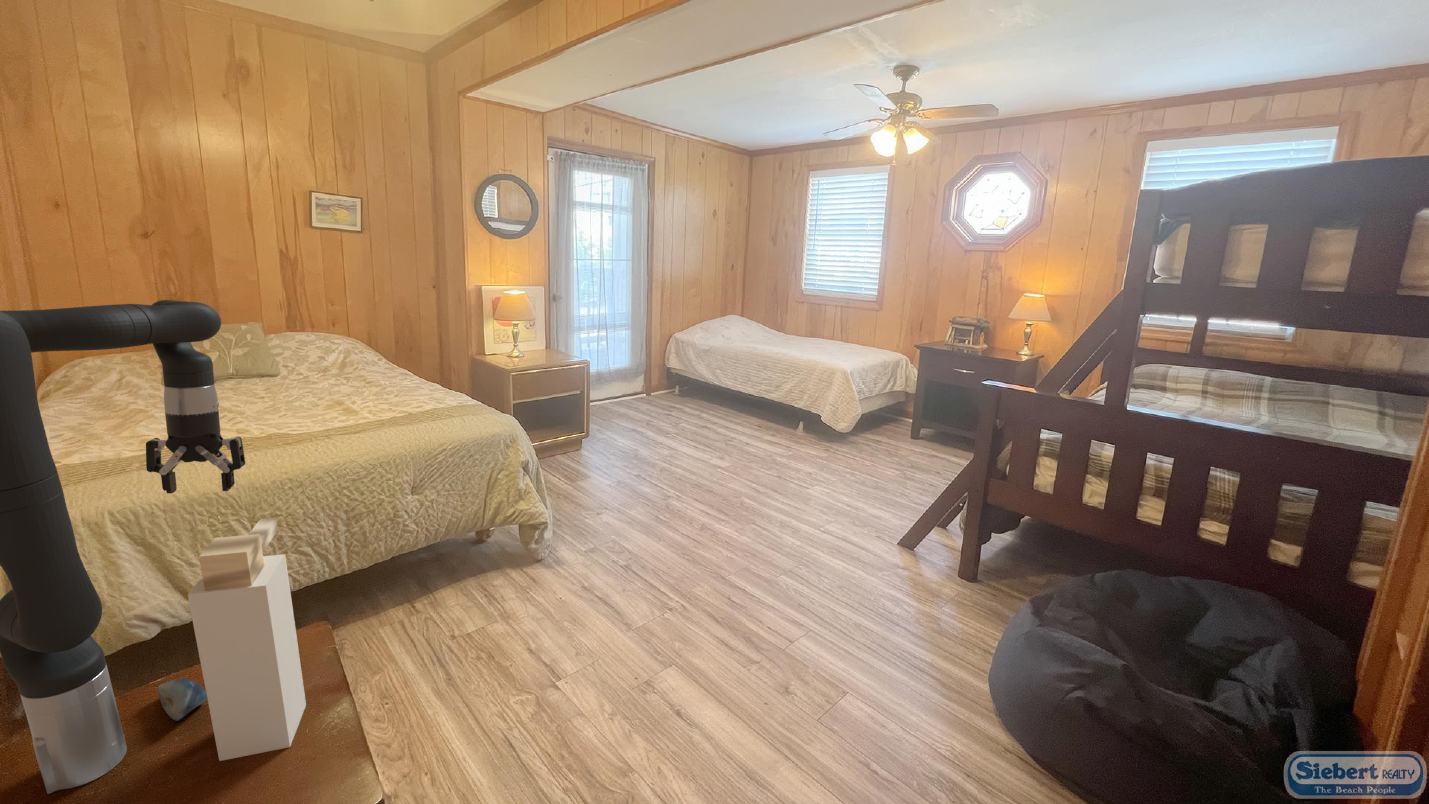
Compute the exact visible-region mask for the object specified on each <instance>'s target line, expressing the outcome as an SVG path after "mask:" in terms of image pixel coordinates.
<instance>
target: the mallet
mask: <svg viewBox="0 0 1429 804" xmlns="http://www.w3.org/2000/svg"><path fill="white" fill-rule="evenodd" d="M277 518H278V517H273V518H272V517H269V518H268V517H267V518H259V520H258V521H257V523H256V524H255V525H254V527H253V528H252V529H251V530H250V532H249V533H248V534H245V535H244V534H243V535H231V536H221V537H220V536H219V537H214V539H213V540H212V541H211V542H210V543H209V544H208V546H206V548H205V549H204V550H203V552H201V554H199V556H198V559H199V564H200V571H201V577H202V576H203V582H204V587H205V591H209V590H217V589H226V588H235V587H244V586H252V584H253V583H254V581H255V580H256V578H257V577H258V575H259V574H260V572H261V571H262V569H263V568H264V566H265V565H264V558H263V556H264V551H265V550H266V548H267V546H268V545H269V544H270V542H271V541H272V540H273V538H274V537H275V535H276V534H277V532H278V530H279V528H278V520H277Z"/></svg>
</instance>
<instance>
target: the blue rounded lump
mask: <svg viewBox="0 0 1429 804" xmlns="http://www.w3.org/2000/svg"><path fill="white" fill-rule="evenodd" d="M157 691H158V692H157V693H158V698H159V700H160V703H161V705H162V708H163V710H164V711H165V713H166V714H167V715H168V717H170V718H171V720H172V721H181V719H183V718H184V717H185V716H187V715H188V714H189V713H190V712H192V711H193V710H194V709H196V708H198V707H199V706H201V705H203V704H204V703H205V702H206V701H207V700H208V699H207V694H206V689H205V688H203V686H202V685H201V684H199V683H198V682H196V681H194V680H190V679H188V678H178V679H173V680H170V681H166V682H165V681H164V682H163V683H160V684H159V685H158V687H157Z"/></svg>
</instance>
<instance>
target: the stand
mask: <svg viewBox="0 0 1429 804" xmlns="http://www.w3.org/2000/svg"><path fill="white" fill-rule="evenodd" d="M263 558H264V565H265V566H264V568H263V569H262V571H261V572H260V574H259V575H258V577H257V578H256V580H255V581H254V583H253V584H252V586H244V587H235V588H226V589H217V590H209V591H205V587H204V582H203V576H202V575H201V578H200V579H199V580H198V581H197V582H196V584H195V585H194V586H193V587H192V588H191V590H190V591H189V592H188V594H187V599H188V603H189V609H190V614H191V619H192V624H193V629H194V635H195V640H196V645H197V651H198V657H199V661H200V667H201V672H202V677H203V682H204V689H205V691H206V694H207V699H206V700H207V704H208V708H209V713H210V714H209V715H210V719H211V724H212V730H213V734H214V740H215V745H216V750H217V755H218V761H219V762H221V761H226V760H233V759H236V758H237V759H238V758H242V757H247V756H252V755H257V754H262V753H266V752H272V751H278V750H283V749H287V748H291V746H292V742H293V741H294V738H295V735H296V733H297V730H298V728H299V725H300V723H301V720H302V717H303V715H304V711H305V709H306V707H307V701H306V695H305V687H304V680H303V679H304V678H303V672H302V666H301V665H302V664H301V659H300V652H299V651H300V650H299V644H298V643H299V642H298V636H297V629H296V621H295V615H294V607H293V602H292V601H293V600H292V592H291V585H290V578H289V572H288V564H287V556H286V554H285V553H284V554H273V555H272V554H271V555H263Z"/></svg>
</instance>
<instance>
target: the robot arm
mask: <svg viewBox="0 0 1429 804" xmlns="http://www.w3.org/2000/svg"><path fill="white" fill-rule="evenodd" d="M221 327H222V319H221V316H220V315H219V313H218V311H217V310H215V308H213V307H212V306H210V305H209V304H206V303H202V302H199V301H197V302H196V301H184V300H175V299H173V300H172V299H161V300H157V301H155V302H153V303H152V304H151V305H150V304H140V303H122V304H120V303H119V304H103V305H88V306H87V305H86V306H78V307H77V306H75V307H62V308H50V309H49V308H48V309H32V310H31V309H28V310H27V309H25V310H21V309H20V310H0V567H1V568H2V570H3V571H4V573H5V575H6V576H7V578H8V580H9V583H10V587H11V589H10V590H9V591H8V592H7V593H5V595H4V596H2V597H1V598H0V656H1V659H2V661H3V664H4V667H5V669H6V671H7V673H8V675H9V676H10V678H11V679H12V680H13V681H14V683H15V684H16V686H17V688H18V693H19V695H20V698H21V702H22V705H23V708H24V709H23V710H24V713H25V716H26V719H27V723H28V727H29V730H30V733H31V738H32V745H33V746H32V747H33V750H34V753H35V754H34V755H35V758H36V761H37V764H38V767H39V771H40V774H41V777H42V781H43V784H44V788H45V790H46V794H48V795H49V794H52V793H54V792H57V791H60V790H67V789H69V790H70V789H73V788H76V787H80V786H82V785H86V784H88V783H90V782H92V781H95V780H97V779H98V778H100V777H102V776H104V775H106V774H108V772H110V771H112V770H113V769H114V768H115V767H116V766H117V765H118V764H120V763H121V762H122V760H124V758H125V756H126V753H127V750H128V748H127V743H126V738H125V734H124V730H123V727H122V722H121V719H120V714H119V710H118V706H117V702H116V698H115V694H114V690H113V685H112V682H111V677H110V673H109V669H108V665H107V661H106V660H107V659H106V656H105V653H104V650H103V648H102V647H101V646H100V644H99V643H98V642H97V641H96V640H95V638H93V636H92V635H93V634H94V633H95V631H96V630H97V628H98V627H99V625H100V623H101V619H102V614H103V604H102V601H101V598H100V597H99V594H98V592H97V589H96V588H95V585H94V584H93V582H92V580H91V577H90V576H89V573H88V571H87V570H86V567H85V566H84V563H83V561H82V559H81V555H80V553H79V550H78V545H77V541H76V537H75V532H74V530H73V525H72V521H71V518H70V514H69V510H68V507H67V503H66V499H65V494H64V490H63V486H62V481H61V479H60V475H59V473H58V469H57V466H56V463H55V460H54V458H53V455H52V452H51V449H50V445H49V440H48V437H47V433H46V429H45V426H44V422H43V417H42V414H41V409H40V406H39V400H38V395H37V387H36V380H35V379H36V378H35V372H34V364H33V358H32V357H33V355H32V353H43V352H44V353H45V352H74V351H75V352H76V351H77V352H79V351H102V350H104V351H105V350H114V349H115V350H117V349H124V348H133V347H140V346H145V345H153V348H154V350H155V352H156V355H157V356H158V358H159V360H160V362H161V366H162V367H161V369H162V377H163V378H162V379H163V388H164V390H163V405H164V406H163V407H164V416H165V425H166V434H167V439H161V438H159V437H154V438H151V439H150V440H148V441H146V442H145V462H146V463H145V466H146V471H147V472H148V473H157V474H159V475H160V476H161V477H160V479H161V486H162V490H163V491H164V492H165V493H166V494H168V495H169V494H173V493H175V492H176V491H177V477H176V471H174V469H175V468H176V467H177V466H178V465H179V464H180V463H181V462H184V463H191V462H199V463H204V462H209V463H210V464H211V465H213V466H215V467H217V468H218V469H219V470H221V473H220V476H221V477H220V478H221V489H222V492H229V491H230V490H231V488H232V487H234V486H235V472H234V471H235V470H240V469H241V468H243V466H245V465H246V457H245V451H244V445H243V444H244V443H243V439H242V437H241V436H235V437H234V438H232V437H231V438H223V437H222V434H221V425H220V421H221V420H220V413H219V407H220V403H219V401H218V393H217V390H216V385H215V374H214V364H213V359H212V357H210V356H209V355H208V354H206V353H204V352H203V353H202V352H200V351H199V350H197V349H195V348H194V347H193V345H192V343H195V342H196V343H197V342H205V341H207V340H209V339H212V338H213V337H214V336H215V335H217V334H218V333H219V331H220V329H221ZM223 446H225V448H226V449H227V450H228V451H230V455H231V460H229V458H228V457H227V455H226V454H225V453H224V452H223V451H222V450H220V449H222V447H223ZM165 447H166V448H167V449H168V450H169V451H170V452H171V453H172V455H171V456H170V457H169V458H168V459H167V461H166V462H165V464H163V463H162V451H163V450H164V449H165Z"/></svg>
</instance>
